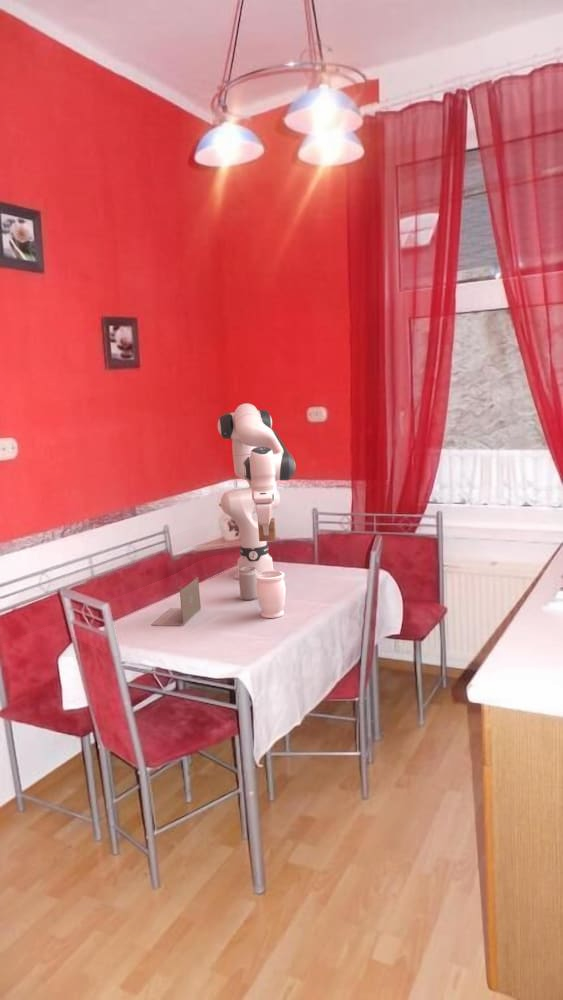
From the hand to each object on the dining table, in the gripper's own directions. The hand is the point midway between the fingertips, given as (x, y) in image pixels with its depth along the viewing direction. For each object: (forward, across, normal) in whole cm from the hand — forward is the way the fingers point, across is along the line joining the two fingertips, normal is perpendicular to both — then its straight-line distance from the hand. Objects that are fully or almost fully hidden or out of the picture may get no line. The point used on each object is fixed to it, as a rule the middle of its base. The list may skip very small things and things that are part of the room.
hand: (267, 532), depth 252 cm
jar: (+30, 0, 0) cm, 30 cm away
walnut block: (+2, 0, 0) cm, 2 cm away
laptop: (+31, -2, -35) cm, 47 cm away
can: (+30, -21, -10) cm, 38 cm away
